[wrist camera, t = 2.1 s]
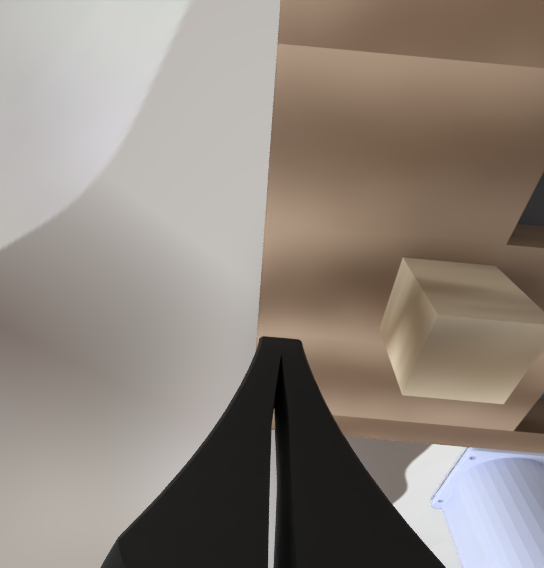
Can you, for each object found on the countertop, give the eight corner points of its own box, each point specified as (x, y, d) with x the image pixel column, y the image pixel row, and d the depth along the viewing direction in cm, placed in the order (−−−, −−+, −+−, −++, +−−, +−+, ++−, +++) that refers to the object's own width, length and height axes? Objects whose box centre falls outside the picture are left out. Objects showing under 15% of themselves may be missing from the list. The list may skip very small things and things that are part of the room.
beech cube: (459, 335, 16) (503, 404, 13) (379, 328, 16) (402, 395, 13) (495, 265, 14) (559, 326, 11) (402, 257, 14) (437, 315, 11)
